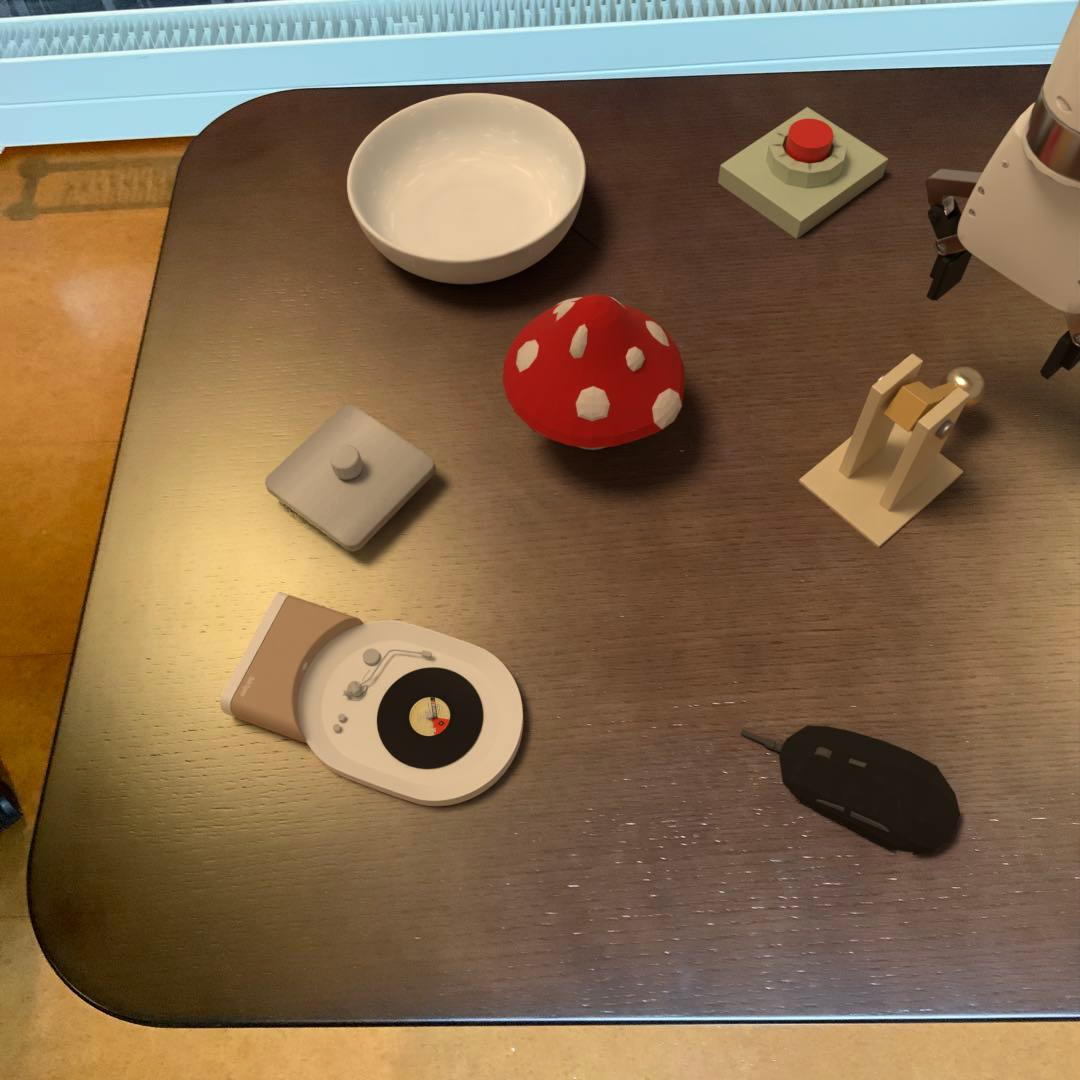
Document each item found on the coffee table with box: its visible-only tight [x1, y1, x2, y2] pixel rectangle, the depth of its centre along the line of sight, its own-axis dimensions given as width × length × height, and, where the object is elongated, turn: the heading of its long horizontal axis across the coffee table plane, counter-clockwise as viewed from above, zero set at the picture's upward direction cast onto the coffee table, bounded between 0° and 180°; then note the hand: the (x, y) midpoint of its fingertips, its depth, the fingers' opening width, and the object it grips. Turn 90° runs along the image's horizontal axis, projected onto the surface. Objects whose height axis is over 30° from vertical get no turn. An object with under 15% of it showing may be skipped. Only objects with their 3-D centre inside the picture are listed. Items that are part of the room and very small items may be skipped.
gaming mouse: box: [740, 724, 961, 856], centre depth 69 cm, size 6×15×4 cm, turn 62°
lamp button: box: [785, 118, 833, 164], centre depth 95 cm, size 4×4×2 cm
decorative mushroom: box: [502, 293, 686, 451], centre depth 79 cm, size 14×14×15 cm
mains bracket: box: [798, 353, 970, 549], centre depth 77 cm, size 10×8×12 cm
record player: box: [219, 591, 524, 807], centre depth 73 cm, size 12×3×20 cm
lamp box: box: [717, 106, 889, 240], centre depth 97 cm, size 12×10×4 cm
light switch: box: [264, 404, 437, 552], centre depth 81 cm, size 10×10×5 cm
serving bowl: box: [346, 92, 587, 285], centre depth 94 cm, size 21×21×7 cm
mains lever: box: [884, 365, 986, 432], centre depth 77 cm, size 12×3×3 cm
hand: (998, 327), depth 74 cm, fingers open, 9 cm apart
